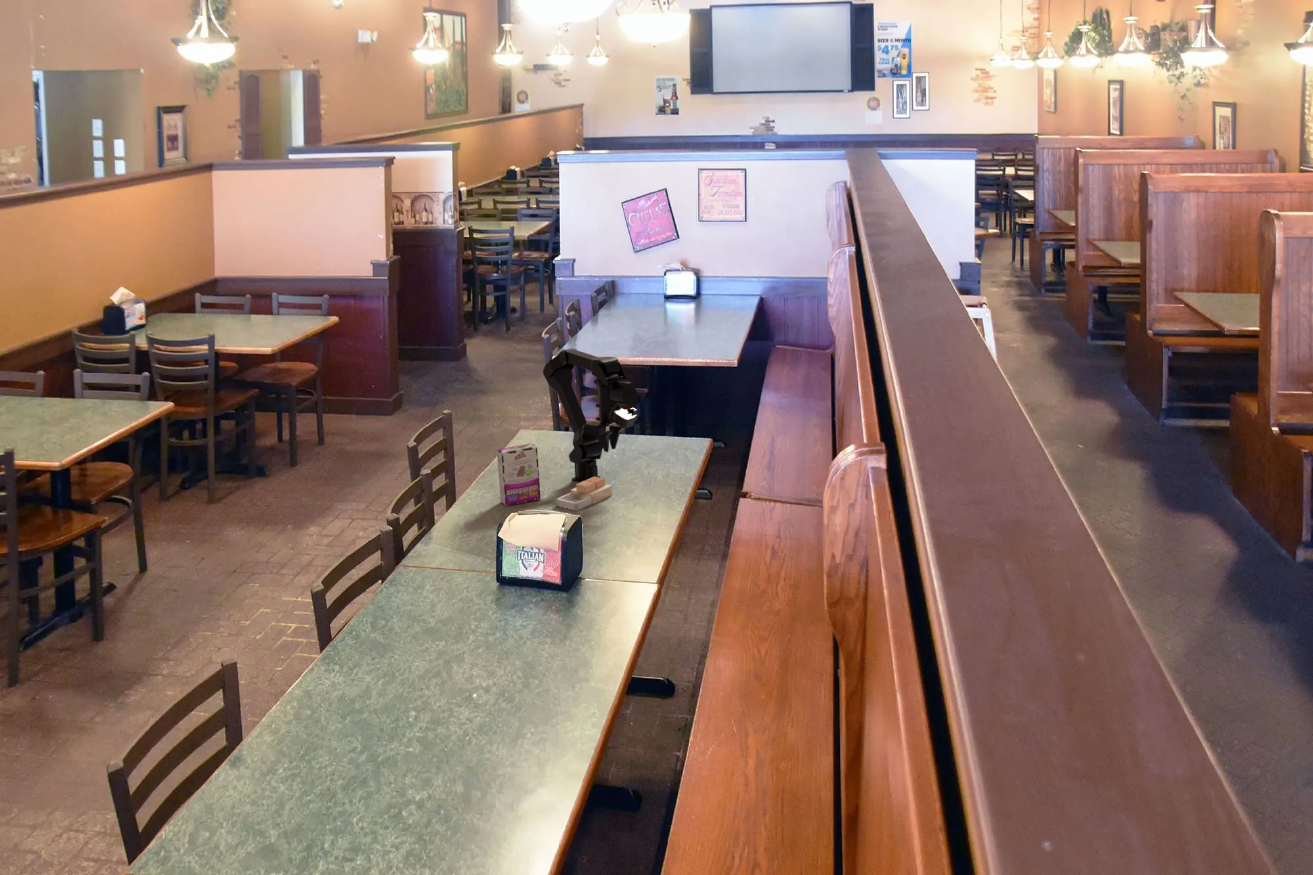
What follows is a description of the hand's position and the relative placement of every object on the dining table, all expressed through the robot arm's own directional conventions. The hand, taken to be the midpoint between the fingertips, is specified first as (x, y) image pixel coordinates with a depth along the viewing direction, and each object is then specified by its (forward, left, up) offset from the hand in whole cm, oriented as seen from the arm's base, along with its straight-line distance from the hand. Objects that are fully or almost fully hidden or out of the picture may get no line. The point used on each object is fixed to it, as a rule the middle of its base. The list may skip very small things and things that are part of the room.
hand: (610, 450), depth 342 cm
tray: (0, -18, -12) cm, 21 cm away
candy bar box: (-16, -23, -12) cm, 31 cm away
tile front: (0, -12, -9) cm, 15 cm away
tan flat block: (0, -10, -12) cm, 15 cm away
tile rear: (0, -8, -9) cm, 12 cm away
